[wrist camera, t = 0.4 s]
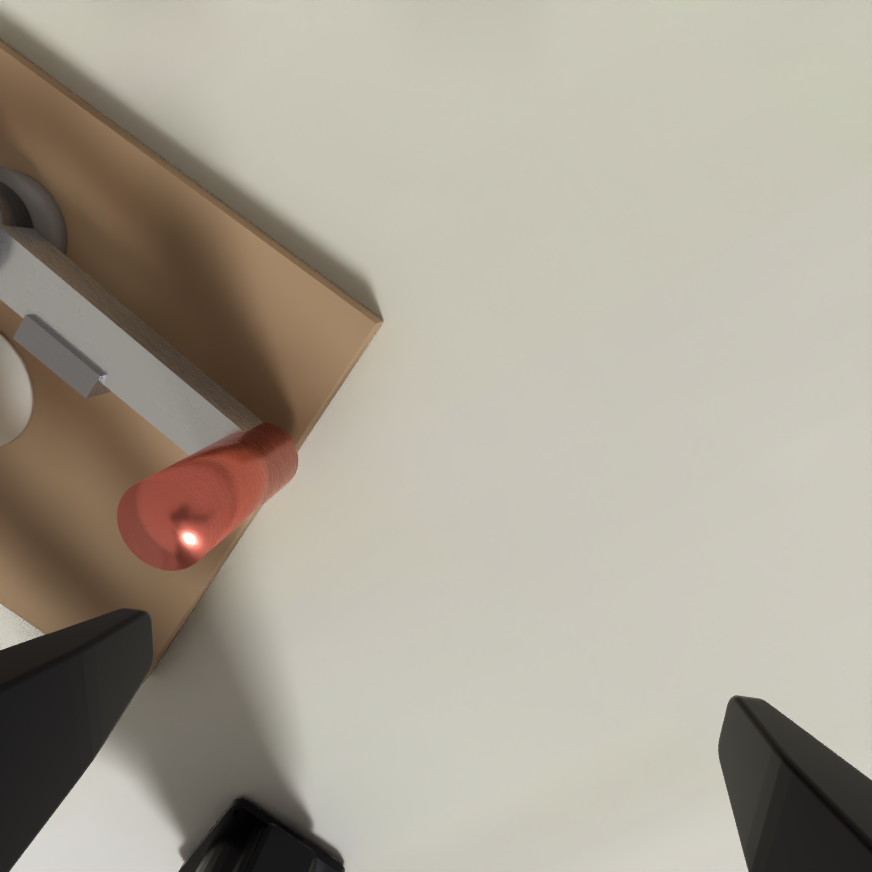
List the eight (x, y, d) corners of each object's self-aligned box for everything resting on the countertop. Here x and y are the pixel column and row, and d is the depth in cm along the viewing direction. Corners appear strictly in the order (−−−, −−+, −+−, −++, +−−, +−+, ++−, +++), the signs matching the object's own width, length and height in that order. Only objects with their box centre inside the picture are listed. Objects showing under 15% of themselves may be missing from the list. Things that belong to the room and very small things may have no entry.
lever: (-61, 237, 20) (-309, 217, 14) (-23, 156, 19) (-271, 98, 13) (267, 509, 21) (167, 599, 15) (319, 445, 20) (235, 515, 14)
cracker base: (149, 675, 26) (93, 735, 23) (-163, 462, 25) (-269, 489, 22) (383, 321, 20) (356, 328, 17) (-12, 30, 20) (-125, -24, 16)
